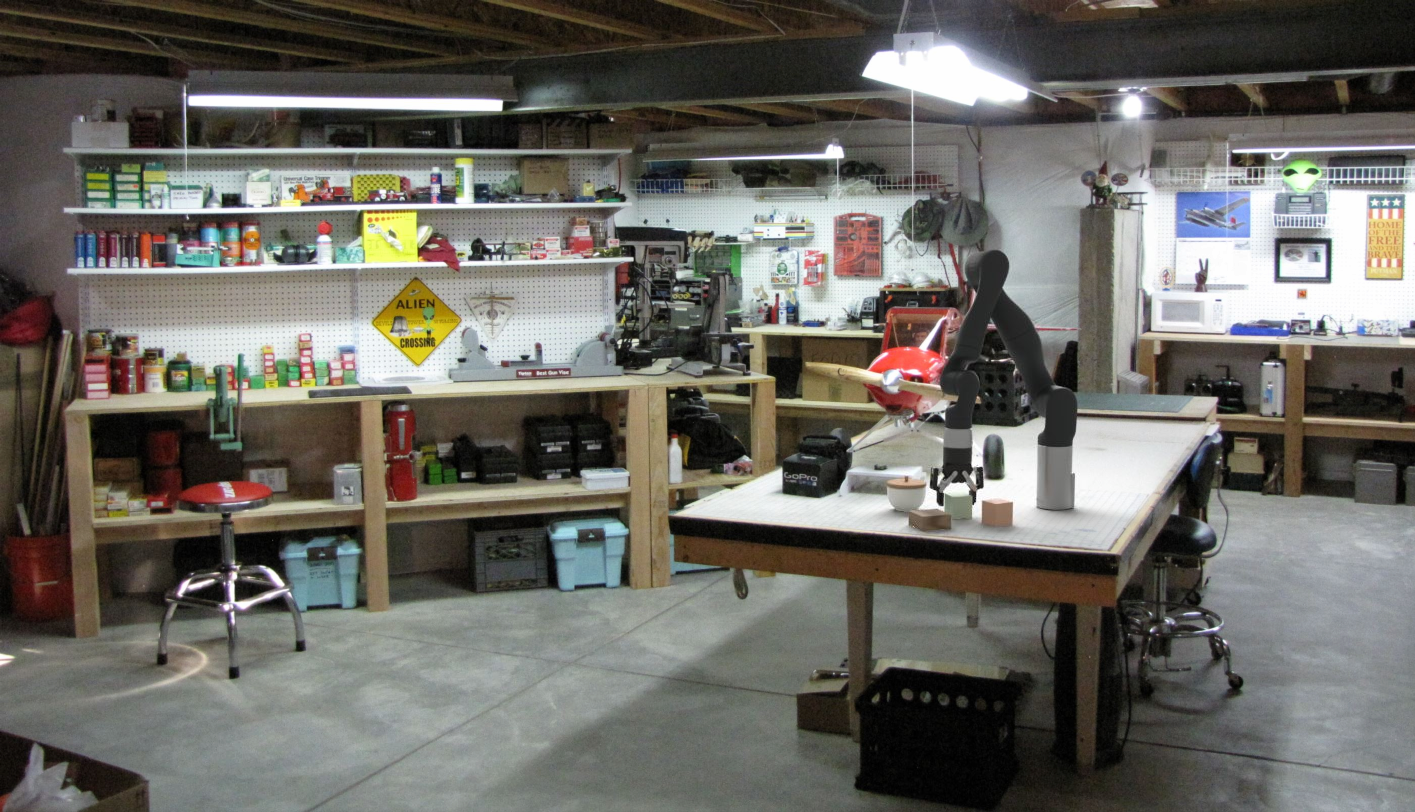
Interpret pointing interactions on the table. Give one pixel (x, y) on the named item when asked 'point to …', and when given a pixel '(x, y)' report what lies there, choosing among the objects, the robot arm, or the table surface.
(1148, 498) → the table surface
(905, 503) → the lidded jar
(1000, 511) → the terracotta block
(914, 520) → the walnut base
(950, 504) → the sage block
